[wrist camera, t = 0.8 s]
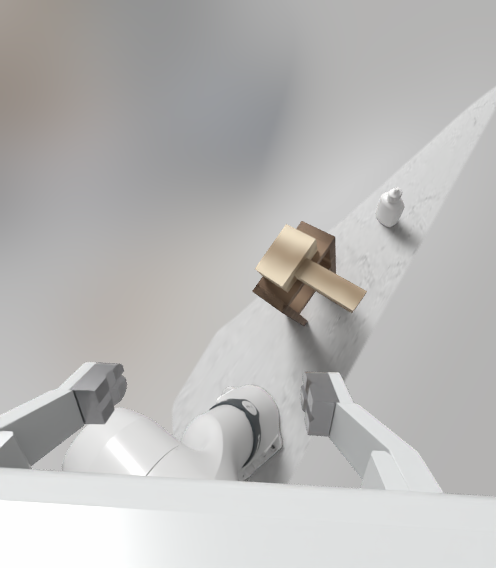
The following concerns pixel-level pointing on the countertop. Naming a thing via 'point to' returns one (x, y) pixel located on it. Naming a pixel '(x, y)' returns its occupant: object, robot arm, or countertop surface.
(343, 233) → the countertop surface
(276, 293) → the walnut shelf
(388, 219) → the eye dropper bottle
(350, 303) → the wooden mallet
